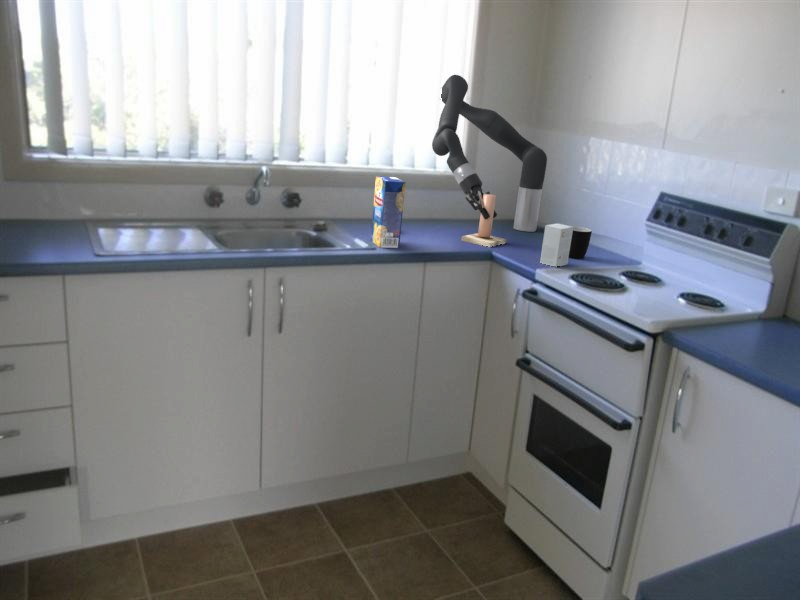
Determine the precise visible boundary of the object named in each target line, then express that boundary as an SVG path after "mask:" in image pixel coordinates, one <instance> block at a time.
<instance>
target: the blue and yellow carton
mask: <svg viewBox="0 0 800 600" xmlns="http://www.w3.org/2000/svg"><path fill="white" fill-rule="evenodd" d="M374 184H375V185H374V193H373V195H374V196H373V205H372V207H373V209H372V219H371V231H370V241H371V242H372V243H373V244H375V245H376V246H377V247H378V248H384V249H385V248H386V249H387V248H389V249H399V248H400V246H401V245H400V244H401V243H400V241H401V234H402V225H403V224H402V223H403V213H404V204H405V203H404V202H405V194H406V193H405V192H406V181H405V180H402V179H400V178H398V177H396V176H395V177H394V176H378V175H376V176H375V183H374Z"/></svg>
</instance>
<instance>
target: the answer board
mask: <svg viewBox="0 0 800 600" xmlns="http://www.w3.org/2000/svg"><path fill="white" fill-rule="evenodd" d="M460 241H462V242H465V243H469V244H470V243H471V244H474V245H478V246H482V245H483V247H486V246H488V247H487V248H493V247H497V246H496V245H498V246H500V244H502V245H506V244H507V241H508V239H507V238H502V237H498V236H493V235H491V236H490V237H481V236H478V232H477V233H473V234H472V233H471V234H466V235H462V236H461V240H460ZM505 243H506V244H505ZM492 246H493V247H492Z"/></svg>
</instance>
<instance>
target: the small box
mask: <svg viewBox="0 0 800 600" xmlns="http://www.w3.org/2000/svg"><path fill="white" fill-rule="evenodd" d="M572 226H573V225H566V224H563V223H558V222H557V223H552V224H546V225H545V226H544V231H543V232H544V233H543V238H542V239H543V240H542V246H541V254H540V259H539V260H540V261H539V264H540V263H542V264H541V265H543V264H546V265H545V266H547V265H550V266H549V267H551V266H556V268H558V267H557V266H560V267H562V266H567V265H569V264H568V262H569V258H568V257H569V251H570V245H571V238H572V232H573V227H572Z"/></svg>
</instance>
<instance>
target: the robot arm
mask: <svg viewBox="0 0 800 600" xmlns="http://www.w3.org/2000/svg"><path fill="white" fill-rule="evenodd" d="M441 88H442V94H441V98H442V101H441V102H442V103H443V104H444V106H443V108H442V111H441V113H440V115H439V116H440V117H439V121H438V128H437V130H436V132H435V135H434V137H433V139H432V143H431V147H432V150H433V152H434V154H435V155H437V156H439V157H443V156H446V155H448V154H449V155H448V157H447V159H446V164H447V167H448V168H449V169H450V171H451V173H452V175H453V177H454V179H455V181H456V182H457V184H458V185H459V187H460V189H461V190H462V192H463V193H464V195H466V197H465V200H466V201H467V203H469V204H470V206H471V207H472V209H473V210H475V211H478V212H480V215H481V214H482V215H483V217H484V219H485V220H486V219H488V218H489V217H490V215H489V213H488V211H487V210H486V208H484V204H483V194H491V193H490V191H487V192H485V190H484V189H483V188H482V186H483V181H482V180H481V179H480V177H479V175H478V174H477V172H476V171H475V169H474V167H473V166H472V165H471V164H470V162H469V160H468V159H467V157H466V155H465V154H464V151H463V150H464V149H463V146H462V143H461V140H460V137H459V135H458V134H457V129H458V124H459V118H460V116H461V117H463V118H464V119H466V120H467V121H469V122H470V123H471V124H472V125H474V126H475V127H476V128H477V129H479V130H480V131H481V132H482V133H484V134H485V136H487V137H488V138H490V139H491V140H492V141H493V142H495V143H496V144H498V145H500V146H501V147H503V148H505V149H507V150H509V151H510V152H512V154H513V155H514V156H515V157H517V158H518V160H520V162H521V163H522V167H521V173H520V174H521V175H520V179H519V187H518V191H517V192H518V193H517V200H516V207H515V214H514V220H513V221H514V222H513V229H514V230H516V231H522V232H529V233H531V232H536V231H537V227H538V221H539V215H540V214H539V213H540V206H541V199H542V192H543V186H544V182H545V176H546V170H547V162H548V156H547V154H546V152H545V151H544V150H543V149H542V148H541V147H539V146H537V145H535V144H534V143H532V142H531V141H529V140H528V139H527V138H525V137H524V136H523V135H521V134H520V133H519V132H518V131H517V129H516V128H515V127H514V126H513V125H512V124H511V123H510V122H509V121H508V120H506V119H505V118H504V117H503V116H501V115H500V114H499V113H498V112H496V111H495V110H492V109H489V108H488V109H487V108H481V107H477V106H473V105H471V104H469V103H467V102H466V101H465V100H464V99H465V97H466V95H467V93H468V90H469V84H468V82H467V80H466V79H465V78H464V77H463V76H461V75H459V74H452V75H451V76H449V77H448V78H447V79H446V80H445V82H444V84H443V85H442V87H441ZM496 217H498V213H497V212H496V210H495V209H494V215H493V219H495V218H496Z"/></svg>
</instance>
